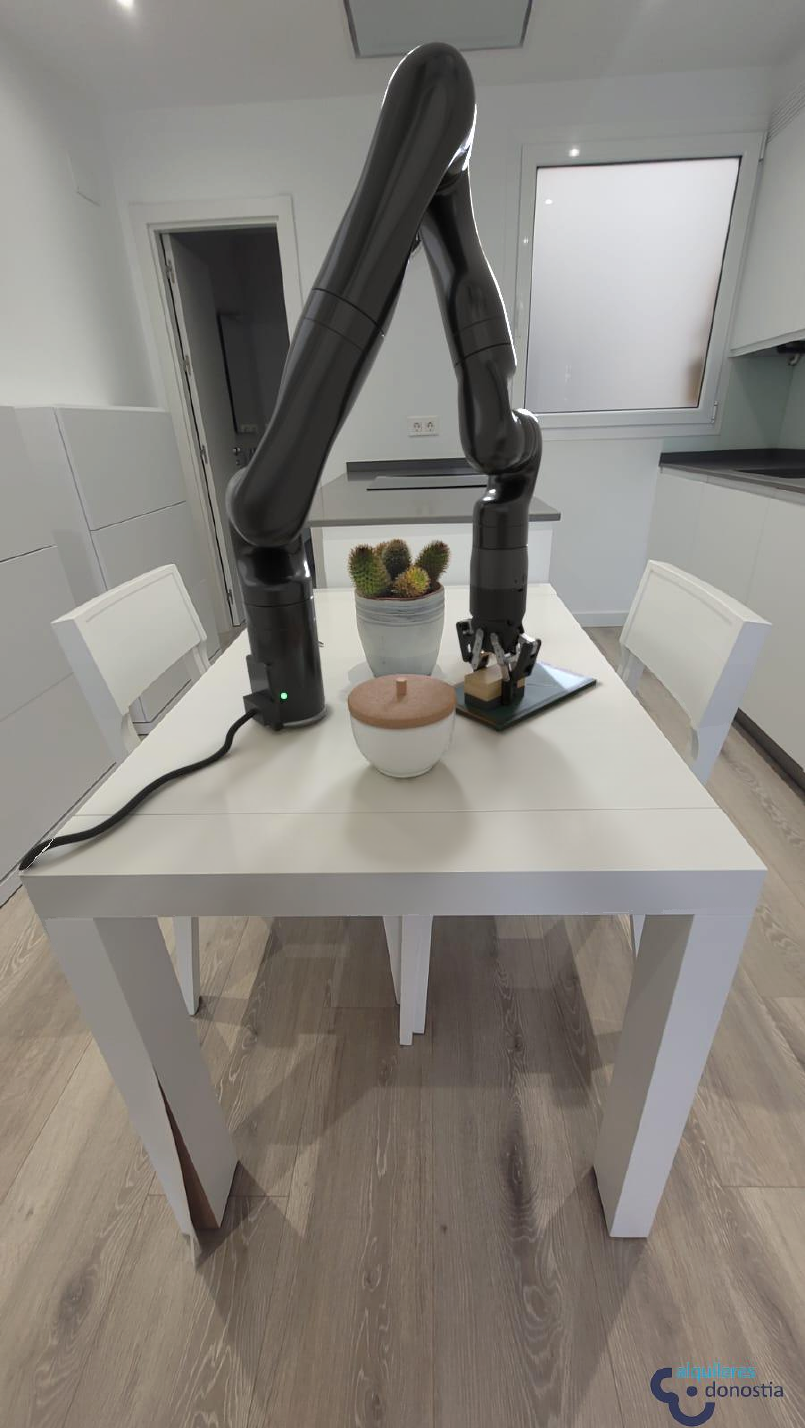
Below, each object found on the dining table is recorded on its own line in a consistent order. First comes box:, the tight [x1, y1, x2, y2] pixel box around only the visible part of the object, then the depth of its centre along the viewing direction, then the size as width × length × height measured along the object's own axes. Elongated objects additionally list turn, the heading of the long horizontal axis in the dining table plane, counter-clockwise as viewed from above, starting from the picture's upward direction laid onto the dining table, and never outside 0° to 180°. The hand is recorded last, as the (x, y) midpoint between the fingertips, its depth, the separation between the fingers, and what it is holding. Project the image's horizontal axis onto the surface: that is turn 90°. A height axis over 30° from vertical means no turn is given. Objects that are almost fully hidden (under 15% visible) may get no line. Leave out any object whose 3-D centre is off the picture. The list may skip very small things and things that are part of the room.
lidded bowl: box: [346, 673, 457, 779], centre depth 70 cm, size 13×13×11 cm
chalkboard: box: [451, 659, 598, 733], centre depth 89 cm, size 22×14×1 cm, turn 130°
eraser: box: [464, 662, 525, 712], centre depth 85 cm, size 8×4×4 cm, turn 130°
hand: (494, 696), depth 86 cm, fingers closed on eraser, 4 cm apart
